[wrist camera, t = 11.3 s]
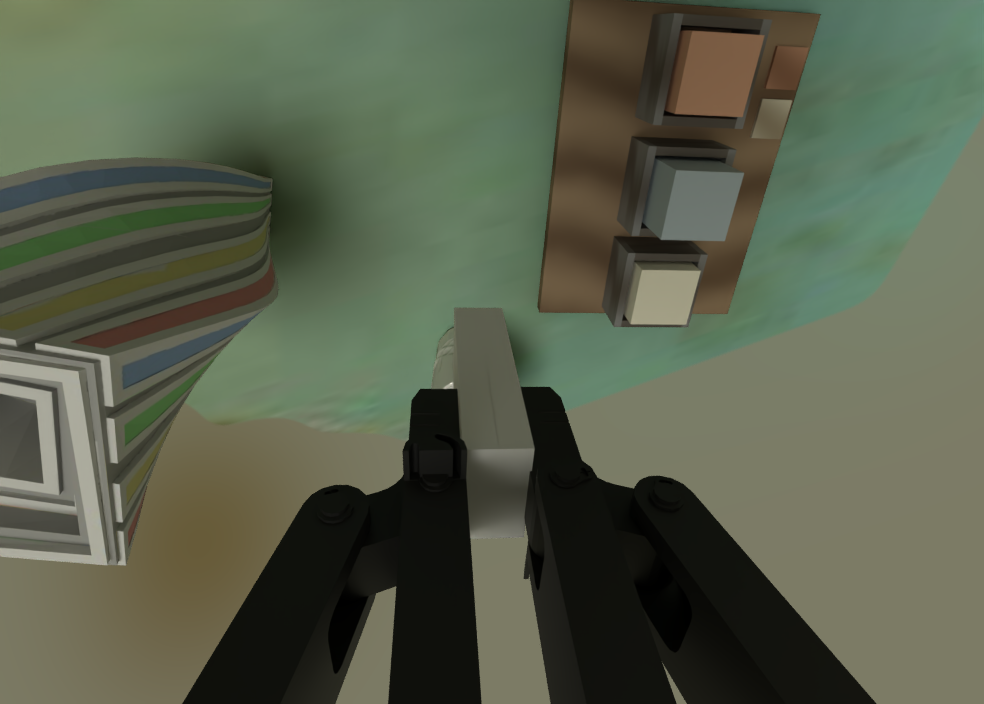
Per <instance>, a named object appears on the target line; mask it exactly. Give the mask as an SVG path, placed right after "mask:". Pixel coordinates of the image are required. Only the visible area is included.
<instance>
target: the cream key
mask: <svg viewBox="0 0 984 704" xmlns="http://www.w3.org/2000/svg"><path fill="white" fill-rule="evenodd" d="M700 272H701V271H700V270H699V269H698V268H697V267H696V266H695V265H694V264H693V263H692V262H691V261H638V260H634V263H633V268H632V273H631V278H630V283H629V288H628V293H627V298H626V303H625V308H624V313H623V314H624V315H625V317H626V318H627V320H628V321H629V323H630V324H661V325H686V324H687V320H688V316H689V313H690V309H691V305H692V302H693V298H694V294H695V291H696V287H697V283H698V279H699V276H700Z"/></svg>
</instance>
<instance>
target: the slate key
mask: <svg viewBox="0 0 984 704" xmlns="http://www.w3.org/2000/svg"><path fill="white" fill-rule="evenodd" d="M743 176H744V172H741V171H739V170H737V169H735V168H733V167H731V166H729V165H727V164H724V163H722V162H720V161H718V160H716V159H714V158H708V157H682V156H657V155H655V159H654V164H653V169H652V174H651V179H650V184H649V189H648V194H647V199H646V204H645V209H644V214H643V219H642V222H643V223H644V224H645V225H646V226H647V227H648V228H649V229H650V230H651V231H652V232H653V233H654V234H655V235H656V236H657V237H658V238H659V239H661V240H693V241H725V239H726V235H727V232H728V228H729V225H730V221H731V218H732V214H733V211H734V207H735V204H736V200H737V197H738V193H739V190H740V186H741V183H742V179H743Z"/></svg>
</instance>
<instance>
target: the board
mask: <svg viewBox="0 0 984 704" xmlns="http://www.w3.org/2000/svg"><path fill="white" fill-rule="evenodd" d="M820 15H821V14H812V13H797V12H783V11H768V10H754V9H740V8H725V7H711V6H697V5H682V4H668V3H653V2H639V1H625V0H570V8H569V17H568V26H567V35H566V45H565V54H564V63H563V73H562V82H561V91H560V101H559V110H558V119H557V129H556V138H555V147H554V157H553V166H552V175H551V185H550V194H549V203H548V213H547V222H546V231H545V241H544V250H543V259H542V268H541V278H540V287H539V296H538V306H537V307H538V310H539V312H552V313H606V314H607V316H608V318H609V319H610V321H611V323H612V324H613V326H614V327H688V326H689V322H690V319H691V315H692V314H727V313H728V310H729V307H730V303H731V300H732V297H733V294H734V291H735V287H736V284H737V281H738V278H739V275H740V271H741V268H742V265H743V262H744V258H745V255H746V252H747V249H748V246H749V242H750V239H751V236H752V233H753V230H754V226H755V223H756V220H757V217H758V214H759V210H760V207H761V204H762V201H763V198H764V194H765V191H766V188H767V185H768V182H769V178H770V175H771V172H772V169H773V166H774V162H775V159H776V156H777V153H778V150H779V146H780V143H781V140H782V137H783V134H784V130H785V127H786V124H787V121H788V118H789V114H790V111H791V108H792V105H793V102H794V98H795V95H796V92H797V89H798V86H799V82H800V79H801V76H802V73H803V70H804V66H805V63H806V60H807V57H808V54H809V50H810V47H811V44H812V41H813V37H814V34H815V31H816V28H817V25H818V21H819V18H820ZM680 31H706V32H721V33H737V34H752V35H765V36H764V40H763V43H762V47H761V51H760V55H759V58H758V62H757V66H756V69H755V73H754V77H753V80H752V84H751V88H750V91H749V95H748V99H747V102H746V106H745V110H744V113H743V117H729V116H708V115H687V114H674V113H671V112H668V111H665V110H664V109H665V104H666V99H667V94H668V89H669V84H670V79H671V74H672V69H673V64H674V59H675V54H676V49H677V44H678V39H679V34H680ZM655 155H657V156H682V157H708V158H714V159H716V160H718V161H720V162H722V163H724V164H727V165H729V166H731V167H733V168H735V169H737V170H739V171H741V172H744V176H743V179H742V183H741V186H740V190H739V193H738V197H737V200H736V204H735V207H734V211H733V214H732V218H731V221H730V225H729V228H728V232H727V235H726V239H725V241H693V240H661V239H659V238H658V237H657V236H656V235H655V234H654V233H653V232H652V231H651V230H650V229H649V228H648V227H647V226H646V225H645V224H644V223H643V222H642V219H643V214H644V209H645V204H646V199H647V194H648V189H649V184H650V179H651V174H652V169H653V164H654V159H655ZM634 260H638V261H691V262H692V263H693V264H694V265H695V266H696V267H697V268H698V269H699V270H700V271H701V272H700V276H699V279H698V283H697V287H696V291H695V294H694V298H693V302H692V305H691V309H690V313H689V316H688V320H687V324H686V325H661V324H630V323H629V321H628V320H627V318H626V317H625V315H624V314H623V313H624V308H625V303H626V298H627V293H628V288H629V283H630V278H631V273H632V268H633V263H634Z"/></svg>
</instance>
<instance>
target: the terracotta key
mask: <svg viewBox="0 0 984 704" xmlns="http://www.w3.org/2000/svg"><path fill="white" fill-rule="evenodd" d="M764 36H765V35H752V34H737V33H721V32H706V31H680V34H679V39H678V44H677V49H676V54H675V59H674V64H673V69H672V74H671V79H670V84H669V89H668V94H667V99H666V104H665V109H664V110H665V111H668V112H671V113H674V114H687V115H708V116H729V117H743V113H744V110H745V106H746V102H747V99H748V95H749V91H750V88H751V84H752V80H753V77H754V73H755V69H756V66H757V62H758V58H759V55H760V51H761V47H762V43H763V40H764Z"/></svg>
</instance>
